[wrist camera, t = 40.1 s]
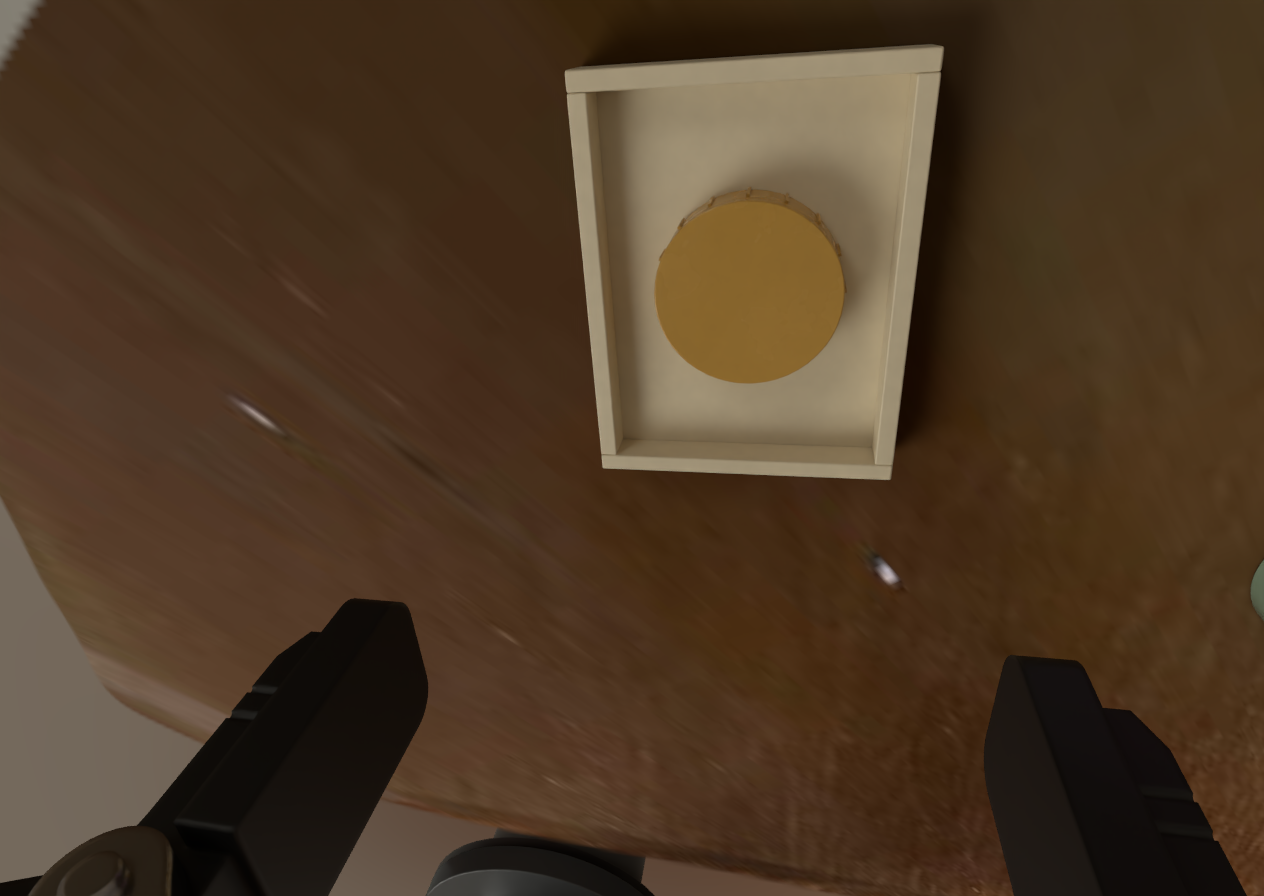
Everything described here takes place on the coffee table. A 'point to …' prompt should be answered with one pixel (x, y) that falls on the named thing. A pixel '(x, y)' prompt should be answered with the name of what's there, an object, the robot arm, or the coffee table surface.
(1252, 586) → the jar
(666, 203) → the tray
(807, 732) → the coffee table surface
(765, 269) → the jar lid
